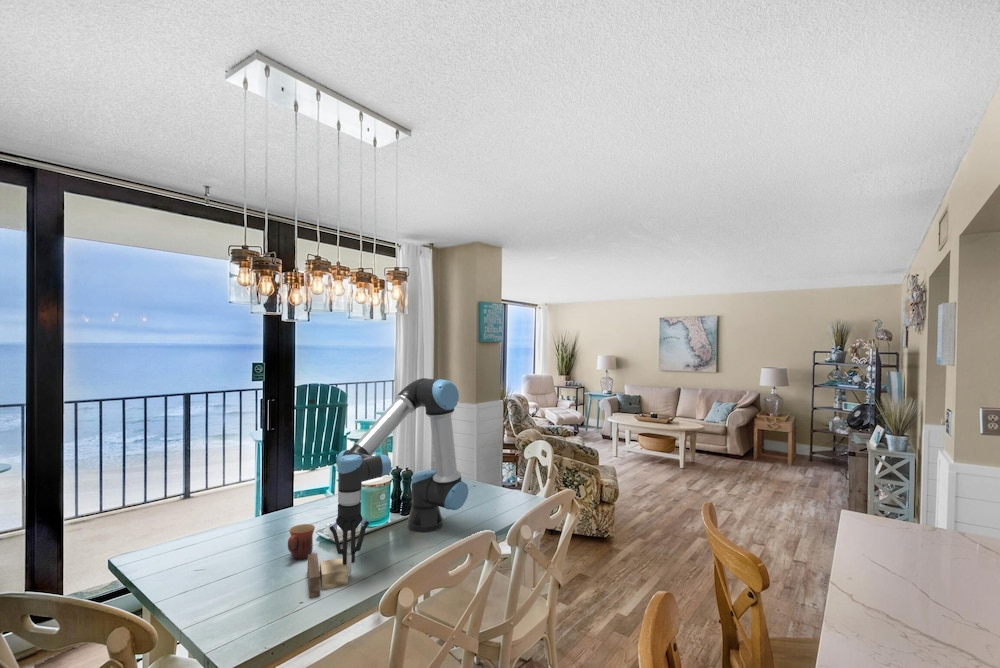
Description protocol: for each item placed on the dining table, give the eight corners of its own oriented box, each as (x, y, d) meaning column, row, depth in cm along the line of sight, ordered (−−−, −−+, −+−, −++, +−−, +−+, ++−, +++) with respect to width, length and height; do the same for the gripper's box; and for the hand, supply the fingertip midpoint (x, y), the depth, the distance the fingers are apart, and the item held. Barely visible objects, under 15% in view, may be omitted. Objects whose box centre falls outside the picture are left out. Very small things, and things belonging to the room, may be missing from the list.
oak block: (344, 572, 165) (344, 557, 166) (347, 585, 156) (348, 570, 156) (319, 576, 162) (319, 561, 162) (321, 590, 153) (322, 574, 153)
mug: (298, 550, 182) (298, 523, 182) (319, 552, 180) (319, 525, 180) (277, 564, 170) (278, 535, 170) (299, 567, 168) (300, 537, 169)
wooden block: (316, 570, 166) (317, 553, 166) (319, 595, 149) (320, 576, 149) (307, 572, 165) (307, 554, 165) (309, 597, 148) (309, 578, 148)
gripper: (367, 496, 168) (366, 564, 167) (328, 501, 163) (327, 571, 162) (371, 503, 161) (370, 574, 161) (329, 508, 156) (328, 581, 155)
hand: (348, 572), depth 161 cm, fingers closed
